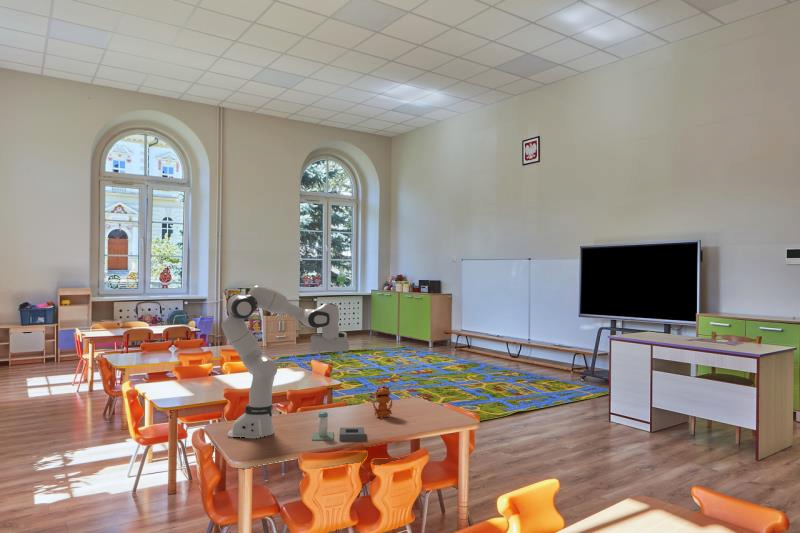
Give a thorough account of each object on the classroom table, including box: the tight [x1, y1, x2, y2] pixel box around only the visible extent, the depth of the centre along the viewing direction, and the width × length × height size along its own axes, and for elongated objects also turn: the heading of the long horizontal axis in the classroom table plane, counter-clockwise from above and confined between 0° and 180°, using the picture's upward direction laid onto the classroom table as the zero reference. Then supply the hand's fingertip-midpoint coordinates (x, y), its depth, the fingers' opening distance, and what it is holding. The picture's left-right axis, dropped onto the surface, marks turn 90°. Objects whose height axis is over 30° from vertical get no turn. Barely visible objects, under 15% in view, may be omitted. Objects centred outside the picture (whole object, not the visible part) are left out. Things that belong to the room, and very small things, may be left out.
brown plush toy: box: [372, 385, 393, 418], centre depth 311 cm, size 11×11×18 cm
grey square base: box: [338, 426, 366, 442], centre depth 267 cm, size 12×12×4 cm
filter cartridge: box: [318, 411, 329, 437], centre depth 266 cm, size 4×4×11 cm
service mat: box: [311, 431, 335, 442], centre depth 266 cm, size 10×12×2 cm
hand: (329, 359), depth 290 cm, fingers open, 8 cm apart
